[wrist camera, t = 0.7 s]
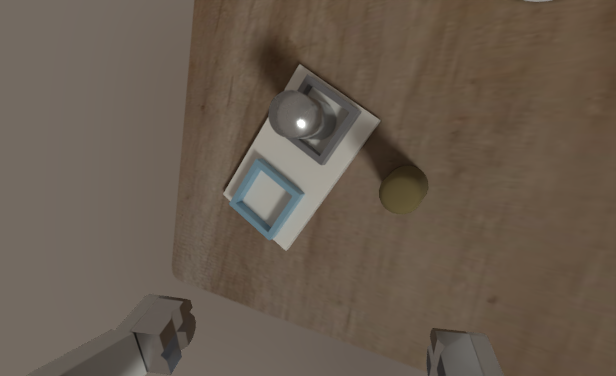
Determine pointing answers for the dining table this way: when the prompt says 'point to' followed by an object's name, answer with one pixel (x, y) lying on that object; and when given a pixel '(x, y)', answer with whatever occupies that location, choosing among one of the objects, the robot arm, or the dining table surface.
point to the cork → (403, 189)
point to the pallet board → (297, 165)
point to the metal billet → (301, 116)
